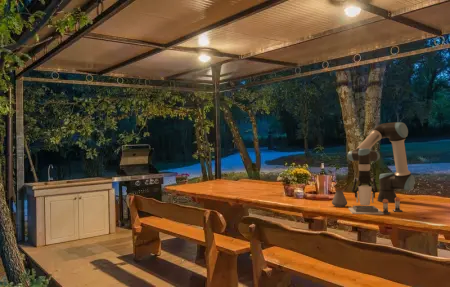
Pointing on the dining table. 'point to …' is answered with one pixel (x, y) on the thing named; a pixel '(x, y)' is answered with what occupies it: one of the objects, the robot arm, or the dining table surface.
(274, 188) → the dining table surface
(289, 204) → the dining table surface
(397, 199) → the pegs
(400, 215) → the dining table surface
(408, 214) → the dining table surface
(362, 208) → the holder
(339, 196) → the coffee pot
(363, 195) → the foam cup
